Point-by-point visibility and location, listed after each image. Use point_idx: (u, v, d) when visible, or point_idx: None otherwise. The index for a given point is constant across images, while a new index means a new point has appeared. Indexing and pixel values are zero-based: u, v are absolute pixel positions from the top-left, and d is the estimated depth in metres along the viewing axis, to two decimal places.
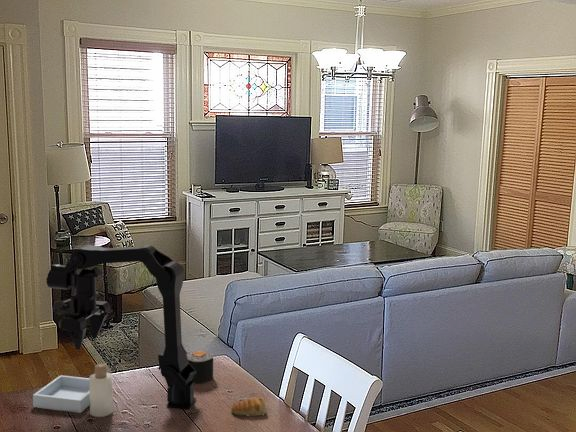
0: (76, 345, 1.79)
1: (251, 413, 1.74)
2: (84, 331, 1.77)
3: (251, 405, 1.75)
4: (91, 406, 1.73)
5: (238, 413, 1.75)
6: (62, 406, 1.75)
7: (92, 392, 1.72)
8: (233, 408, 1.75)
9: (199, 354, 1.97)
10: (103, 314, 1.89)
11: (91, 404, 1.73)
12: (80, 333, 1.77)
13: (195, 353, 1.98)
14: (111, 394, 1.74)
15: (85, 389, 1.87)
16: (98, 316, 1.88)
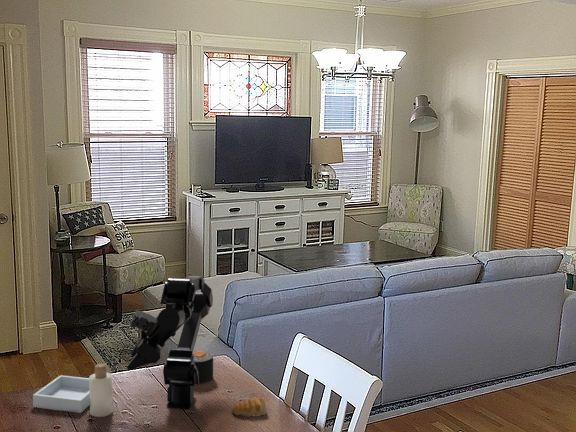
0: (131, 365, 1.69)
1: (252, 413, 1.74)
2: None
3: (252, 405, 1.75)
4: (91, 406, 1.73)
5: (239, 413, 1.74)
6: (62, 406, 1.75)
7: (92, 392, 1.72)
8: (234, 408, 1.75)
9: (199, 354, 1.97)
10: None
11: (91, 404, 1.73)
12: (146, 361, 1.69)
13: (195, 353, 1.98)
14: (111, 394, 1.74)
15: (85, 389, 1.87)
16: None
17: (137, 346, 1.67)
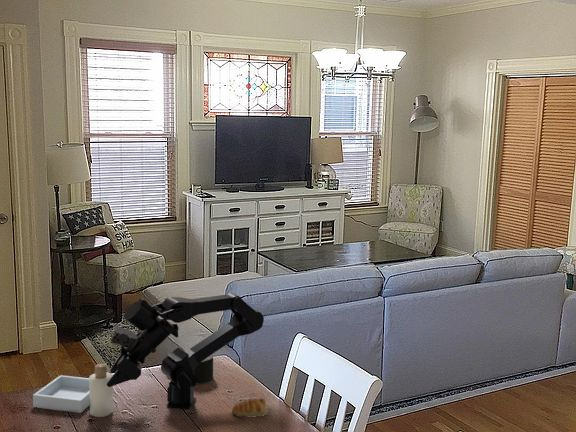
0: (111, 382, 1.69)
1: (252, 414, 1.74)
2: None
3: (252, 406, 1.74)
4: (91, 406, 1.73)
5: (240, 414, 1.74)
6: (62, 406, 1.75)
7: (92, 392, 1.72)
8: (234, 409, 1.75)
9: None
10: None
11: (91, 404, 1.73)
12: (127, 378, 1.68)
13: None
14: (111, 394, 1.74)
15: (85, 389, 1.87)
16: None
17: (118, 362, 1.67)
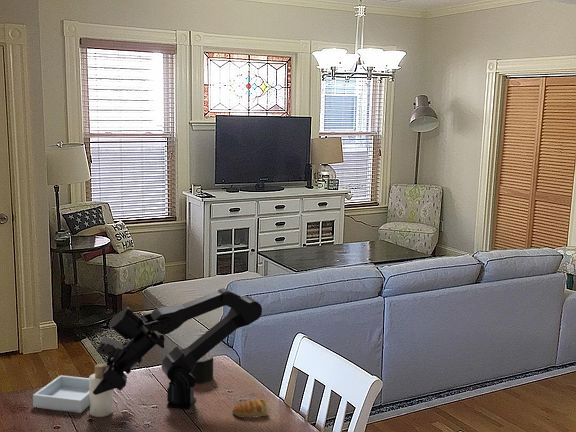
0: (97, 390, 1.70)
1: (253, 414, 1.74)
2: None
3: (253, 406, 1.74)
4: (91, 406, 1.73)
5: (240, 414, 1.74)
6: (62, 406, 1.75)
7: (92, 392, 1.72)
8: (235, 410, 1.74)
9: None
10: None
11: (91, 404, 1.73)
12: (112, 386, 1.69)
13: None
14: (111, 394, 1.74)
15: (85, 389, 1.87)
16: None
17: (103, 371, 1.68)
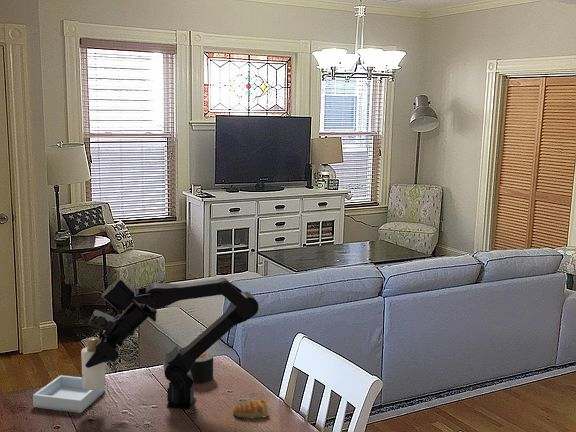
0: (89, 363, 1.70)
1: (254, 415, 1.73)
2: None
3: (254, 407, 1.74)
4: (83, 379, 1.73)
5: (241, 415, 1.73)
6: (62, 406, 1.75)
7: None
8: (235, 411, 1.74)
9: None
10: None
11: (83, 377, 1.73)
12: (105, 358, 1.70)
13: None
14: (103, 367, 1.74)
15: (85, 389, 1.87)
16: None
17: (96, 343, 1.68)
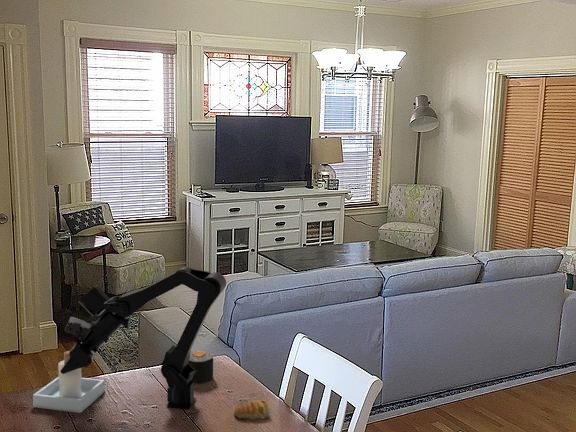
0: (64, 369, 1.76)
1: (255, 416, 1.73)
2: None
3: (255, 408, 1.73)
4: (60, 391, 1.80)
5: (242, 416, 1.73)
6: (62, 406, 1.75)
7: (61, 378, 1.79)
8: (236, 411, 1.73)
9: (199, 354, 1.97)
10: None
11: (60, 389, 1.79)
12: (79, 365, 1.75)
13: (195, 353, 1.98)
14: (80, 380, 1.81)
15: (85, 389, 1.87)
16: None
17: None
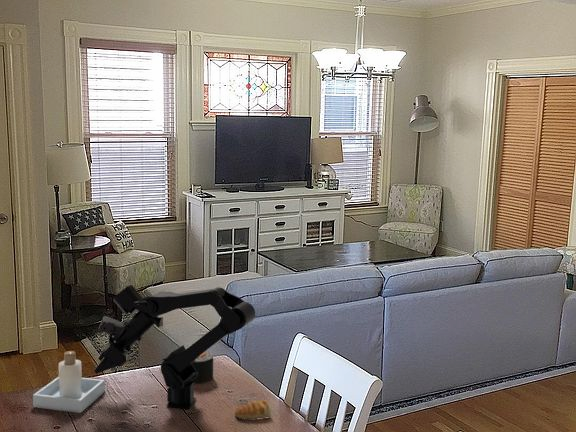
0: (98, 368, 1.77)
1: (256, 416, 1.72)
2: None
3: (256, 408, 1.73)
4: (60, 391, 1.80)
5: (243, 417, 1.72)
6: (62, 406, 1.75)
7: (61, 378, 1.78)
8: (237, 412, 1.73)
9: None
10: None
11: (60, 390, 1.79)
12: (113, 365, 1.76)
13: None
14: (80, 380, 1.81)
15: (85, 389, 1.87)
16: None
17: (104, 350, 1.75)
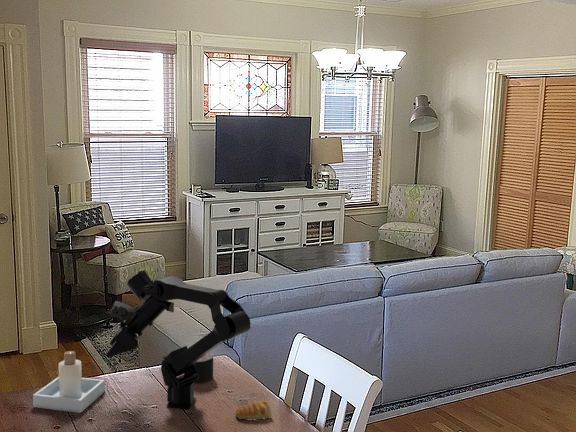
0: (110, 353, 1.78)
1: (257, 417, 1.72)
2: None
3: (256, 409, 1.73)
4: (60, 391, 1.80)
5: (244, 417, 1.72)
6: (62, 406, 1.75)
7: (61, 378, 1.78)
8: (238, 413, 1.73)
9: None
10: None
11: (60, 390, 1.79)
12: (125, 349, 1.77)
13: None
14: (80, 380, 1.81)
15: (85, 389, 1.87)
16: None
17: (116, 334, 1.76)
